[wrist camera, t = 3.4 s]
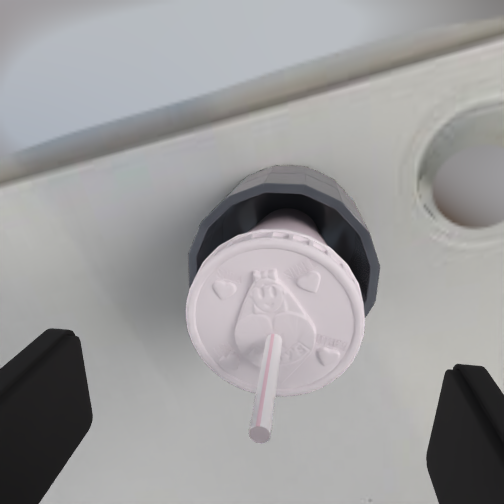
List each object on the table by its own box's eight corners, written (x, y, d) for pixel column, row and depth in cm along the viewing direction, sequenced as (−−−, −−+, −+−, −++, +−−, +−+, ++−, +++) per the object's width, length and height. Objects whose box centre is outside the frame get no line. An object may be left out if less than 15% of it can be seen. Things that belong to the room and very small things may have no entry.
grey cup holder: (369, 167, 21) (391, 187, 15) (353, 306, 24) (366, 366, 18) (216, 162, 22) (184, 180, 16) (218, 296, 25) (192, 350, 19)
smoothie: (242, 293, 24) (162, 509, 11) (223, 192, 22) (98, 309, 9) (348, 284, 23) (399, 514, 10) (338, 176, 21) (387, 284, 8)
